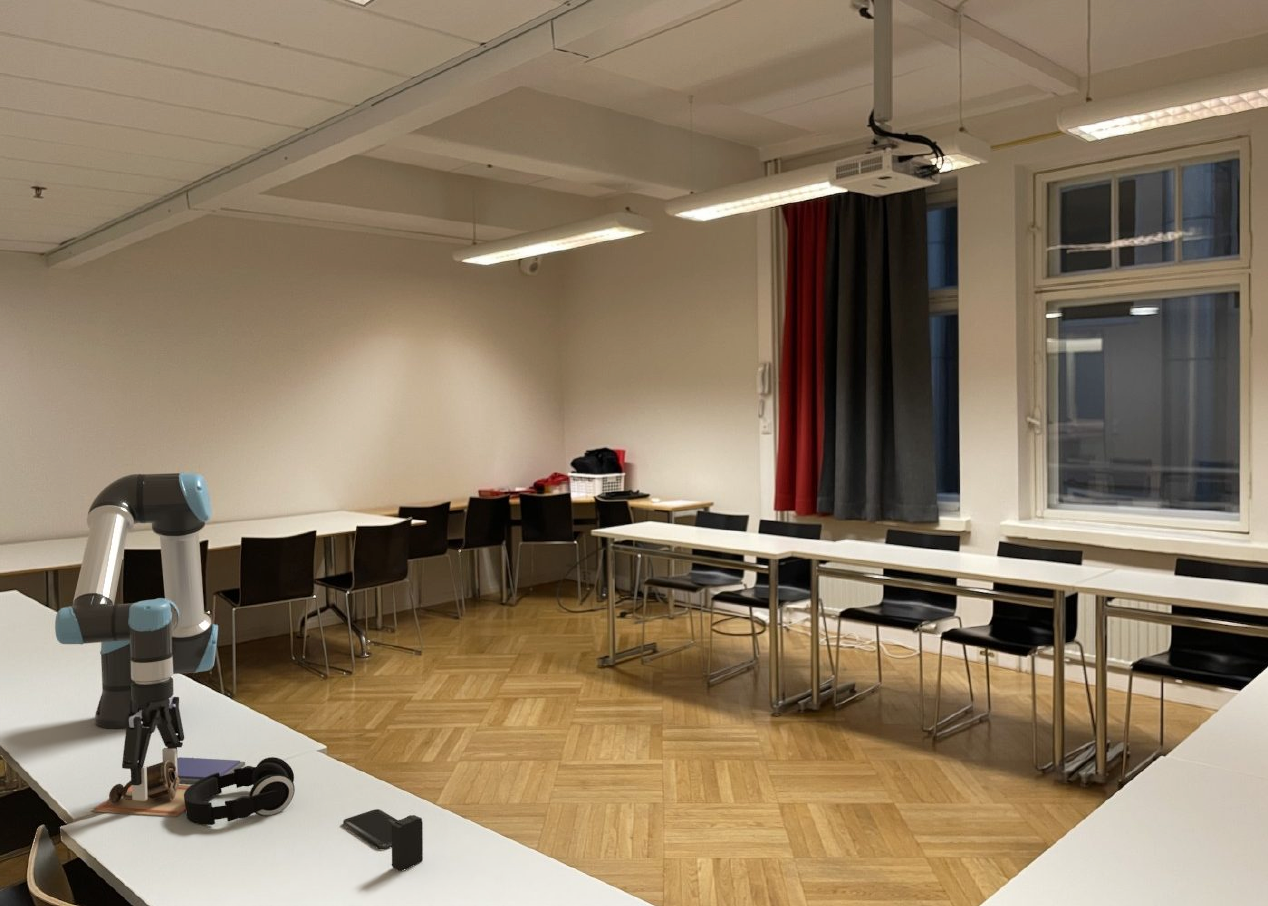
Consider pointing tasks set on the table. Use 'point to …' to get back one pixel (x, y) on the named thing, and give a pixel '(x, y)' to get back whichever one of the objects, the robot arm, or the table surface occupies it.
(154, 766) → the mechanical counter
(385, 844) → the phone
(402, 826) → the ink cartridge
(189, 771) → the ink pad
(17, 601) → the table surface
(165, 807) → the print sheet
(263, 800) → the headphones
